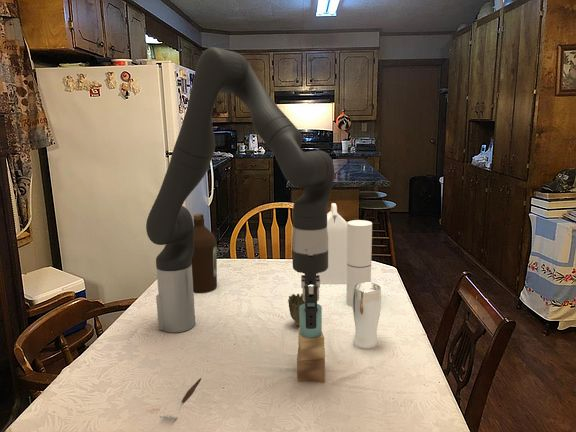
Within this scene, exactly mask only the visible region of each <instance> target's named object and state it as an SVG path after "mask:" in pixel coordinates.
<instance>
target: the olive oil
mask: <svg viewBox="0 0 576 432" xmlns="http://www.w3.org/2000/svg"><path fill="white" fill-rule="evenodd" d="M204 215H205V214H203V213H195V214H193V218H192V220H193V226H194V253H193V256H192V277H193V292H194V294H195V293H196V294H198V293H199V294H204V293H209V292H212V291H214V290H216V289H217V288H218V274H217V273H218V272H217V271H218V268H217V267H218V263H217V261H218V257H217V256H218V254H217V253H218V251H217V250H218V245H217V244H218V242H217V239H216V236H215V235H214V233H213V232H212V231H210V229H209V228H207V227H206V225H205V218H204Z"/></svg>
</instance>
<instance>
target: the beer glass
mask: <svg viewBox="0 0 576 432" xmlns="http://www.w3.org/2000/svg"><path fill="white" fill-rule="evenodd" d="M381 289H382V287H381V286H380V285H379V284H377V283H375V282H371V283H370V282H362V283H357V284H355V285H354V289H353V301H352V305H353V307H352V314H353V319H354V320H353V321H354V327H355V330H354V331H355V332H354V338H353V344H354V346H355V347H357V348H359V349H364V350H372V349H374V348H376V347H377V346H378V345H379V339H378V325H379V324H378V323H379V320H380V316H381V309H382V293H381V292H382V291H381Z"/></svg>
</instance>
